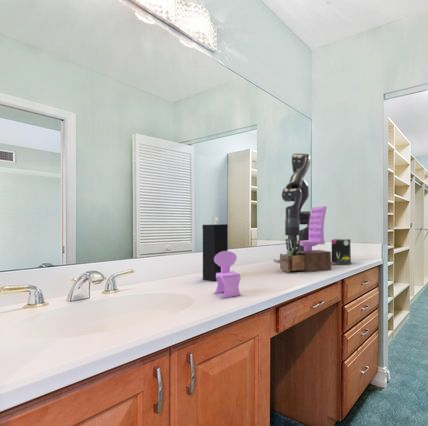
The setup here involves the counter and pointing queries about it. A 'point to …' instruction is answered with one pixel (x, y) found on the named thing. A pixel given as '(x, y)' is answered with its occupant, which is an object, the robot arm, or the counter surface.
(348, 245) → the tampon box
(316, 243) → the purple chair
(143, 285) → the counter surface
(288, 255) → the block
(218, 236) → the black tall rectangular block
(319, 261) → the cabinet
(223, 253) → the toy chair
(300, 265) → the drawer
